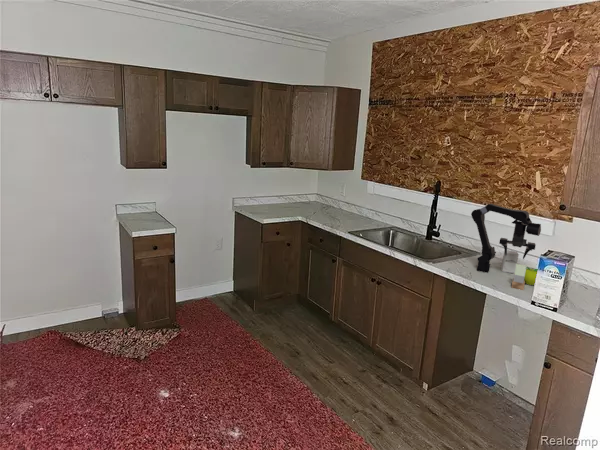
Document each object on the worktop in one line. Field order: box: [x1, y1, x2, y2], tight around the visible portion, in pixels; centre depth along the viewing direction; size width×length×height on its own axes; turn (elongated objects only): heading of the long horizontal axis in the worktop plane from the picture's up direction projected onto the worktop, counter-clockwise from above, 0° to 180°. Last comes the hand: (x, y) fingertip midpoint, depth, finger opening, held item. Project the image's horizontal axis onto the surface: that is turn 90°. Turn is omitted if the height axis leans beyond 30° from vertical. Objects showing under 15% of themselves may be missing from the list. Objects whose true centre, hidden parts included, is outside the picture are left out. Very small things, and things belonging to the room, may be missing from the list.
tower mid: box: [512, 274, 524, 283], centre depth 229 cm, size 5×5×4 cm
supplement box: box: [500, 249, 519, 274], centre depth 257 cm, size 7×7×13 cm
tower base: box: [511, 277, 526, 291], centre depth 230 cm, size 6×6×4 cm
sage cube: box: [514, 263, 527, 277], centre depth 228 cm, size 5×5×5 cm
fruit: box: [524, 266, 539, 286], centre depth 235 cm, size 9×9×10 cm
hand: (514, 257), depth 242 cm, fingers open, 9 cm apart
